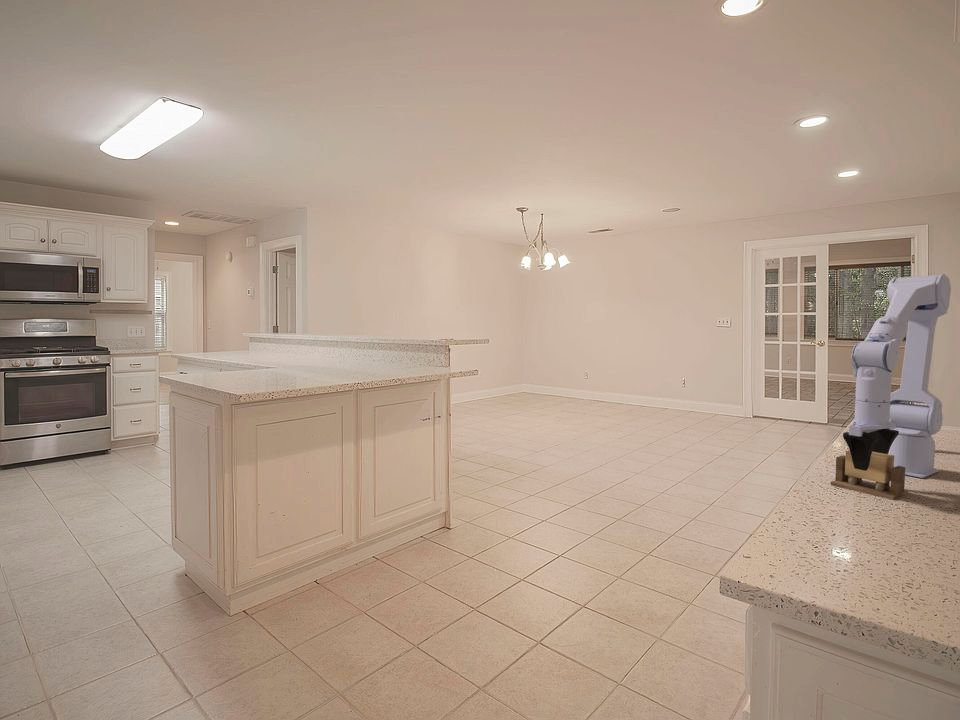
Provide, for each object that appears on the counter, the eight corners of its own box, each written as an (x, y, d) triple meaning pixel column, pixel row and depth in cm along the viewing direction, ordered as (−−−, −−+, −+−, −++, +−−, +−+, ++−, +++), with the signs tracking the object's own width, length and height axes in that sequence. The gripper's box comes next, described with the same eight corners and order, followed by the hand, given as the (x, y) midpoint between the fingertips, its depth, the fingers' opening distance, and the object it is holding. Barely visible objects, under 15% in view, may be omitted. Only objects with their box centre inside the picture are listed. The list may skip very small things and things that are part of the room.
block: (853, 471, 111) (854, 448, 111) (893, 479, 105) (894, 455, 105) (844, 474, 109) (845, 451, 109) (884, 483, 103) (885, 458, 103)
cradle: (846, 479, 114) (847, 453, 114) (908, 493, 105) (909, 465, 104) (830, 484, 110) (831, 458, 110) (893, 499, 101) (894, 471, 101)
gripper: (879, 406, 99) (876, 477, 100) (911, 399, 106) (908, 465, 108) (838, 401, 105) (835, 468, 106) (871, 395, 112) (868, 457, 113)
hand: (869, 466), depth 107 cm, fingers open, 7 cm apart
